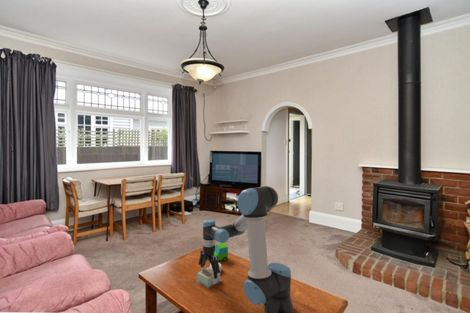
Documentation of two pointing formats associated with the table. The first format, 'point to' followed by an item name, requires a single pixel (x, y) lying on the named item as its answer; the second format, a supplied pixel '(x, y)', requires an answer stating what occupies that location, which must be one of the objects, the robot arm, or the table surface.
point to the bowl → (219, 266)
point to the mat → (209, 286)
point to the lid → (207, 277)
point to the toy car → (221, 252)
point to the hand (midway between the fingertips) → (208, 279)
